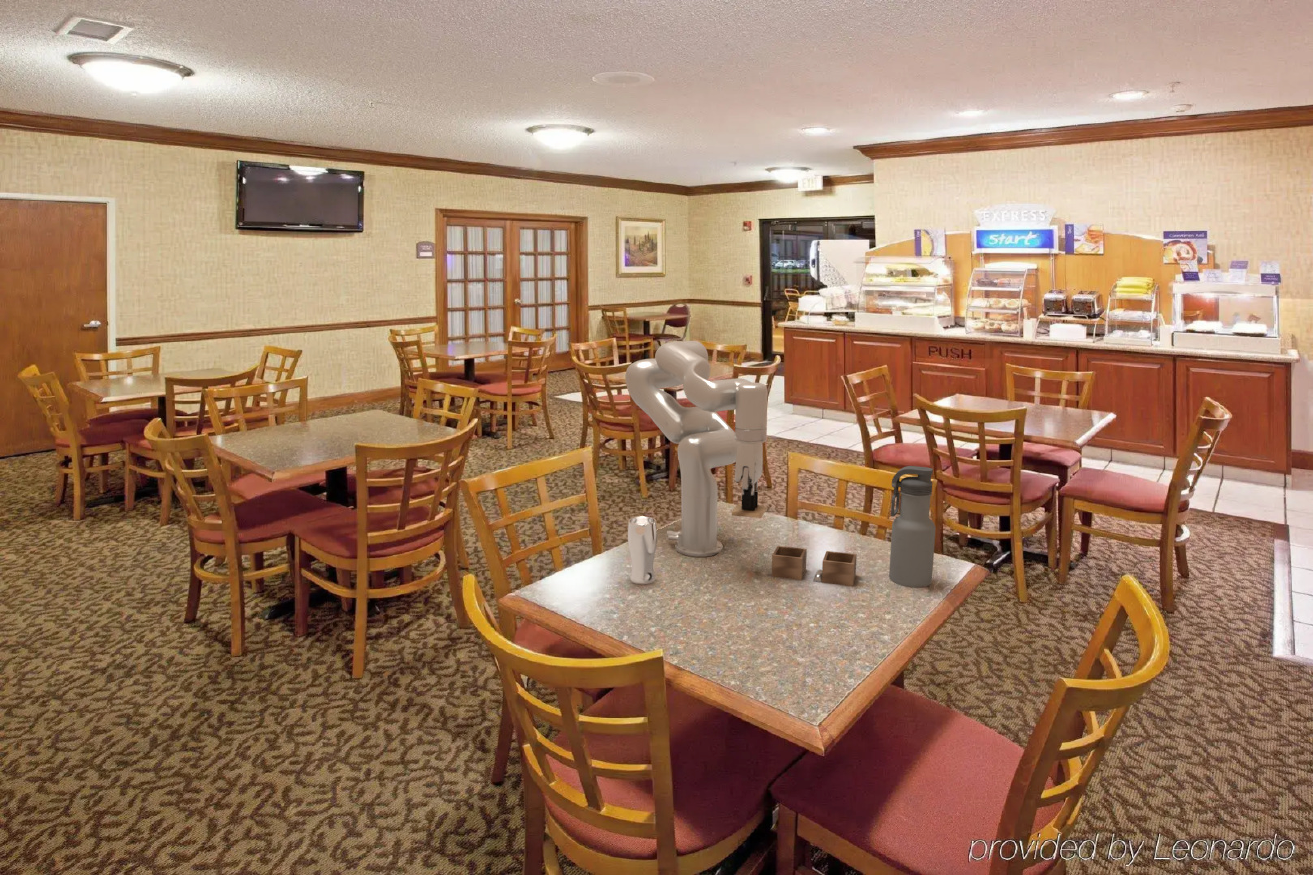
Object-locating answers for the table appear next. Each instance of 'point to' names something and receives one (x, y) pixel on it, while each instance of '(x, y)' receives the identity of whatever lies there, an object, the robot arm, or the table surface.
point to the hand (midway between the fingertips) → (749, 508)
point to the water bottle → (912, 529)
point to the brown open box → (789, 562)
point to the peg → (818, 576)
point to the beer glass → (642, 548)
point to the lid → (757, 513)
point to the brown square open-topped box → (839, 568)
